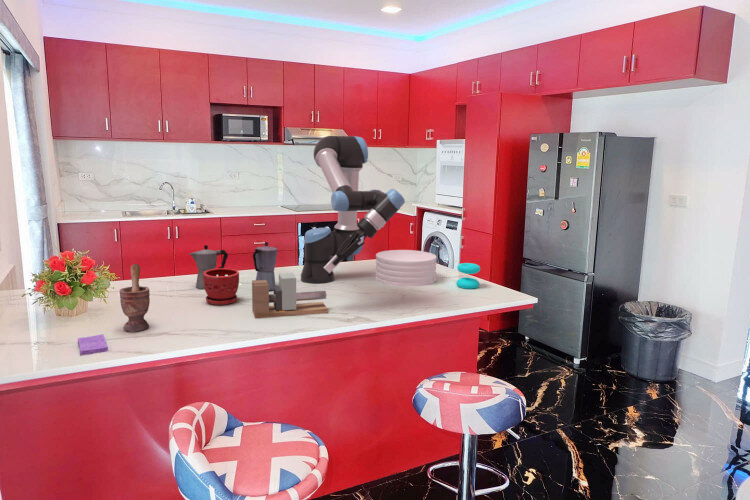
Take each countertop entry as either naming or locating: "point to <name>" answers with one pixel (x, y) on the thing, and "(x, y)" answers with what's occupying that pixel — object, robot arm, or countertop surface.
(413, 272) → the plate stack
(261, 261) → the moka pot
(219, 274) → the plant pot
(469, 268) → the donuts
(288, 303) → the sleeve
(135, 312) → the mortar and pestle
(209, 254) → the coffeepot
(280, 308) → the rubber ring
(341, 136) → the robot arm
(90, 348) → the sponges
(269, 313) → the pipe rig
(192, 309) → the countertop surface
